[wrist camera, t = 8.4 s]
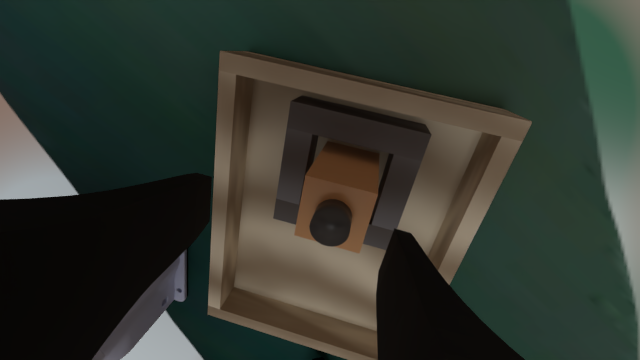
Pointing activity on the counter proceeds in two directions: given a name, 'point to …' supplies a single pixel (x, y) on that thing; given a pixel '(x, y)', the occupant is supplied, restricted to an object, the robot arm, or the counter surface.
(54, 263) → the robot arm
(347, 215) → the connector
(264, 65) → the walled box
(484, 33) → the counter surface
